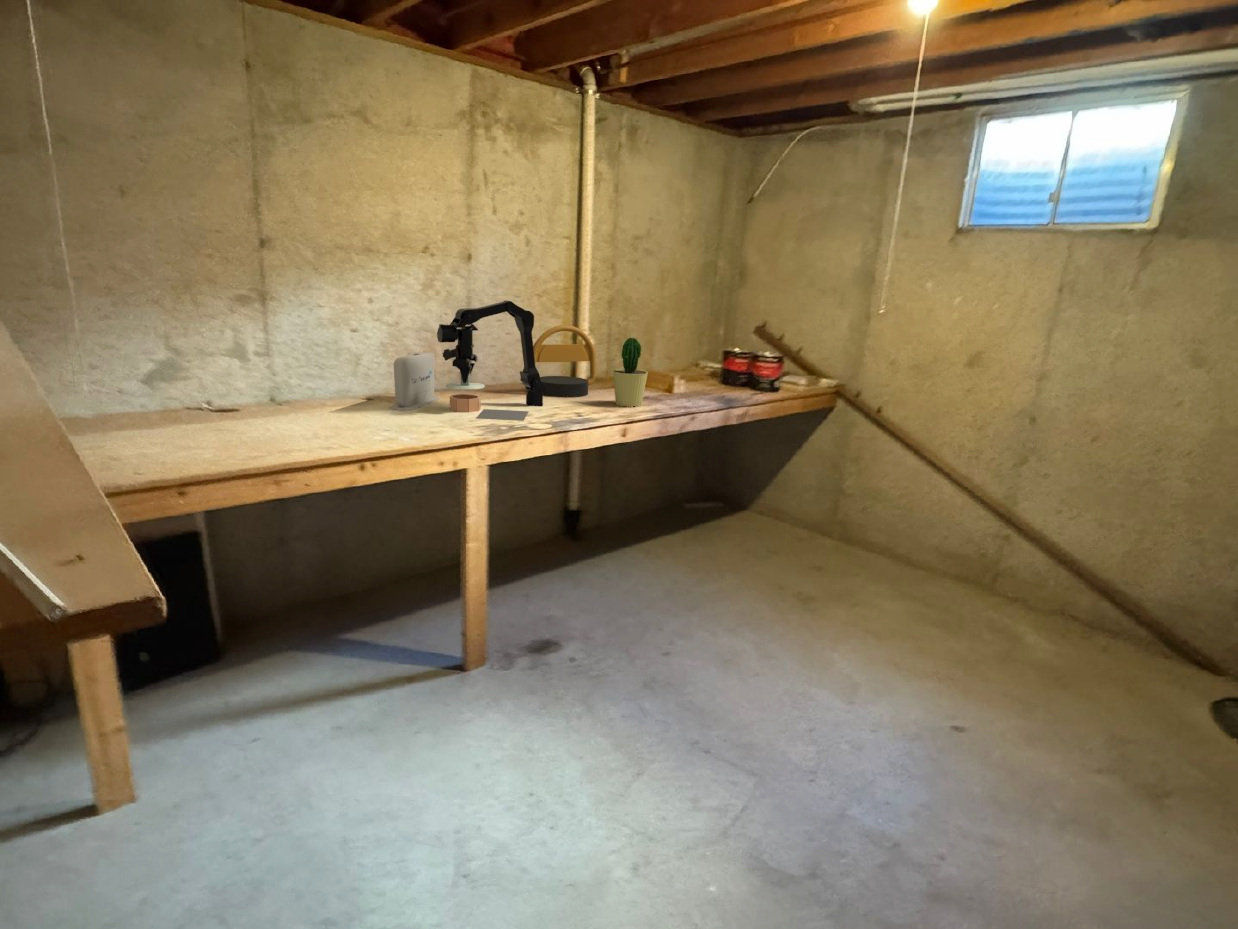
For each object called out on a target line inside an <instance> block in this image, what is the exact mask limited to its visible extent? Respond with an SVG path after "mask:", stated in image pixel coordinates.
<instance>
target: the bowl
mask: <svg viewBox="0 0 1238 929" xmlns="http://www.w3.org/2000/svg"><path fill="white" fill-rule="evenodd" d="M481 398H482V397H481V395H478V394H472V393H471V394H470V393H458V394H451V395H450V396H449V410H450V411H452V412H456V413H474V412H475V413H476V412H479V411H480V410H482V408H481V407H482V399H481Z"/></svg>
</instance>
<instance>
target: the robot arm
mask: <svg viewBox="0 0 1238 929" xmlns="http://www.w3.org/2000/svg"><path fill="white" fill-rule="evenodd" d="M504 313H507V314H509V315H510V316H511V317H512V318H513V319H514V321H515V326H516V328H517V330H518V331H519V334H520V342H521V352H522V361H523V370H520V371H519V375H520V379H519V380H520V382H521V383H522V385H523V386H524V388H525V390H526V391H527V393H526V395H525V404H526V406H528V407H543V406H544V395H543V393H545V391H546V387H545V386H544V385H543V384H542V383H541V379H540V377H541V375H540V372H539V370H538V368H537V367H536V366H537V365H536V363H535V358H534V349H533V345H534V342H533V341H534V340H533V329H534V327H535V315H534V313H533V312H532V311H530V310H526V309H524V308H522V307H520V306H519V305H517V304H515V302H513V301H512V300H503V301H500V302H496V303H493V304H489V305H484V306H481V307H474V308H473V307H471V308H470V307H469V308H459V309H457V311H456V312H455V316H454V318H453V319H452V320H451V321H450V324H444V323H441V324H440V323H439V324H438V328H437V332H436V338H437V340H438V343H455V342H456V341H457V344H456V345H455V348H453V349H450V348H446V349H444V350H443V352H442V358H443V359H444V361H445V362H446V361H448V360H451V359H453V360H452V362H451V363H452V367H455V368H457V369H458V370H459V372H460V377H461V376H462V380H463V383H466V382H467V379H468V376H469V373H470V376H471V374H472V372H473V370H474V367H475V365H476V362H478V356H477V354H475V353H474V351H473V350H474V349H473V348H474V347H475V346H474V343H473V342H474V341H473V340H474V339H473V337H474V334H473V331H475V332H476V331H479V329H478V327H476V325H475V323H476V322H478V321H480V320H481V319H484V318H488V317H492V316H495V315H499V314H504Z"/></svg>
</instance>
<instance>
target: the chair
mask: <svg viewBox="0 0 1238 929" xmlns="http://www.w3.org/2000/svg"><path fill="white" fill-rule="evenodd" d="M559 332H570V333H572V334H573V333H574V334H576V335H577V336H579V337H580V338H581V339H582V340H583V342H584V343H585V344H583V343H579V344H578V343H577V344H576V343H575V344H574V343H572V344H569V343H567V344H565V343H564V344H562V343H561V344H559V343H558V344H557V343H555V344H547V343H546V344H543V343H544V341H545V340H546V339H548V338H549V337H550V336H551V335H553V334H556V333H559ZM533 349H534V358H535V364H537V363H567V362H568V363H569V362H571V363H572V362H577V363H578V362H589V378H588V379H586V378H583V377H577V376H568V375H567V376H566V375H546V376H540V379H541V383H542V384H543V385H544V386H545V387H546V391H545V393H543V397H544V396H546V397H552V398H563V399H564V398H565V399H566V398H573V399H574V398H582V397H587V395H589V386H590V385H592V384H593V383H594V382H595V380H596V376H597V375H596V371H597V370H596V369H597V367H596V364H597V362H596V350H595V347H594V344H593V342H592V341H591V339H590V338H589V336H588V335H587V334H586V333H585V332H584V331H583V330H582V329H580V328H578V327H576V326H574V325H569V324H563V325H562V324H560V325H555V326H553V327H550V328H548V329H547V330H545V332H543V333H542V334H541V335H539V337H538V338H537V339H536V341H535V342H534V343H533Z"/></svg>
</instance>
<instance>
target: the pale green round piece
mask: <svg viewBox="0 0 1238 929" xmlns="http://www.w3.org/2000/svg"><path fill="white" fill-rule="evenodd" d="M445 387H446V388H447V389H450V390H451V389H452V390H458V391H459V390H460V391H473V390H474V391H476V390H482V389H485V387H486V386H485V384H483V383H480V382H471V375H470V373H469V376H468V379H467V382H466V383H463V380H462V376H461V375H460V381H456V382H449V383H446V384H445Z"/></svg>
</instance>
